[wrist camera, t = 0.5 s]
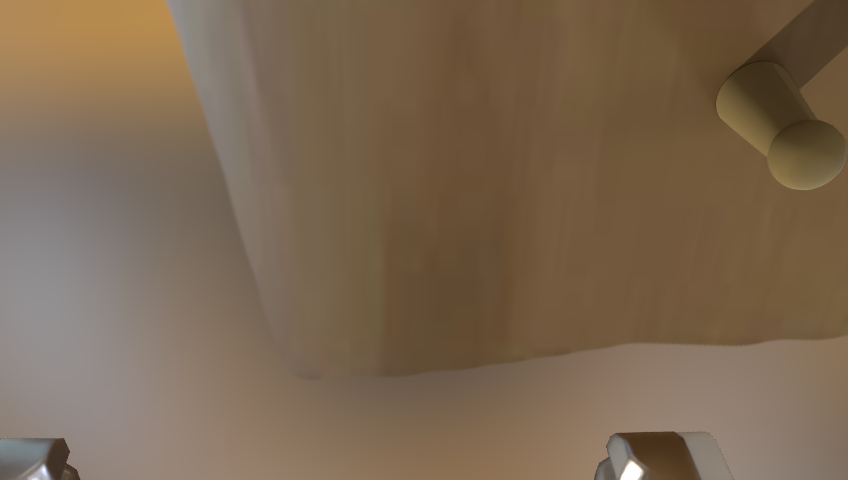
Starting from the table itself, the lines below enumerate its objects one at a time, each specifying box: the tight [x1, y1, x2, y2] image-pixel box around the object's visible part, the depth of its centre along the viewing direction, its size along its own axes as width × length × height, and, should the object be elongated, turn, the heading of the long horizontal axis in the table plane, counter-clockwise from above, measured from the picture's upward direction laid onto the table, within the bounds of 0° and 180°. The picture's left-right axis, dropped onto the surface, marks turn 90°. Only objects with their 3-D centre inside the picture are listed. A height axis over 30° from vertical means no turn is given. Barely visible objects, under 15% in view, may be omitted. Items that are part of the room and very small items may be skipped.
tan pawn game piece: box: [716, 61, 847, 190], centre depth 55 cm, size 6×6×11 cm
